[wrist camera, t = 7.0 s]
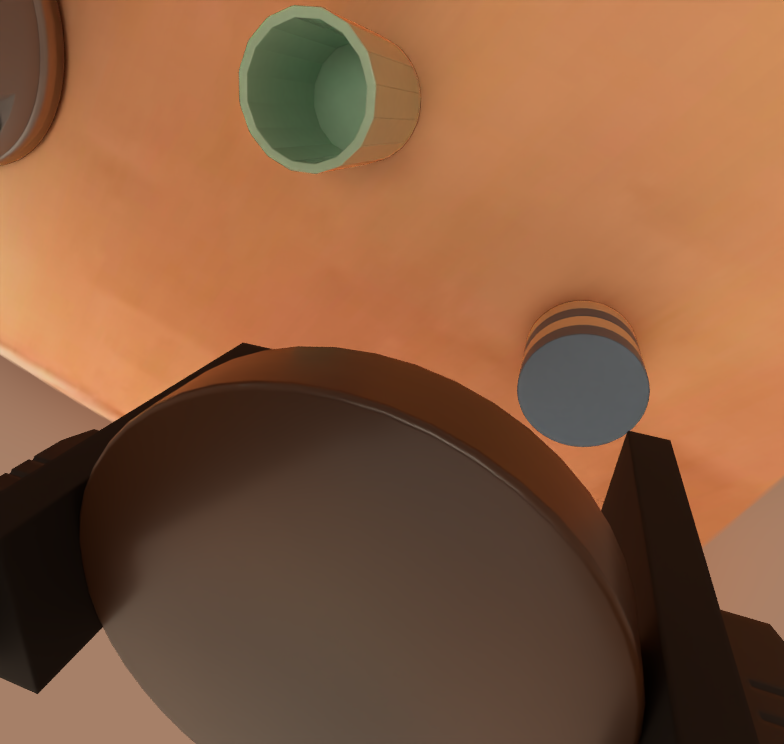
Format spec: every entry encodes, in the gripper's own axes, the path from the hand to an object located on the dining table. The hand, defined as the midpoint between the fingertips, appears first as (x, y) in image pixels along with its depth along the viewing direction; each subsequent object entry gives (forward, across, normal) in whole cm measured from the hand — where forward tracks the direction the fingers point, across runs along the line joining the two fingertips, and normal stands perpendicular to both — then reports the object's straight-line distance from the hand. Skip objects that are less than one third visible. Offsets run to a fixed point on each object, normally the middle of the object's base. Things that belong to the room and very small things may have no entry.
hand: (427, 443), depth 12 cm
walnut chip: (-4, 0, 0) cm, 4 cm away
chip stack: (+17, +4, -3) cm, 18 cm away
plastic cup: (+16, -8, +7) cm, 20 cm away
